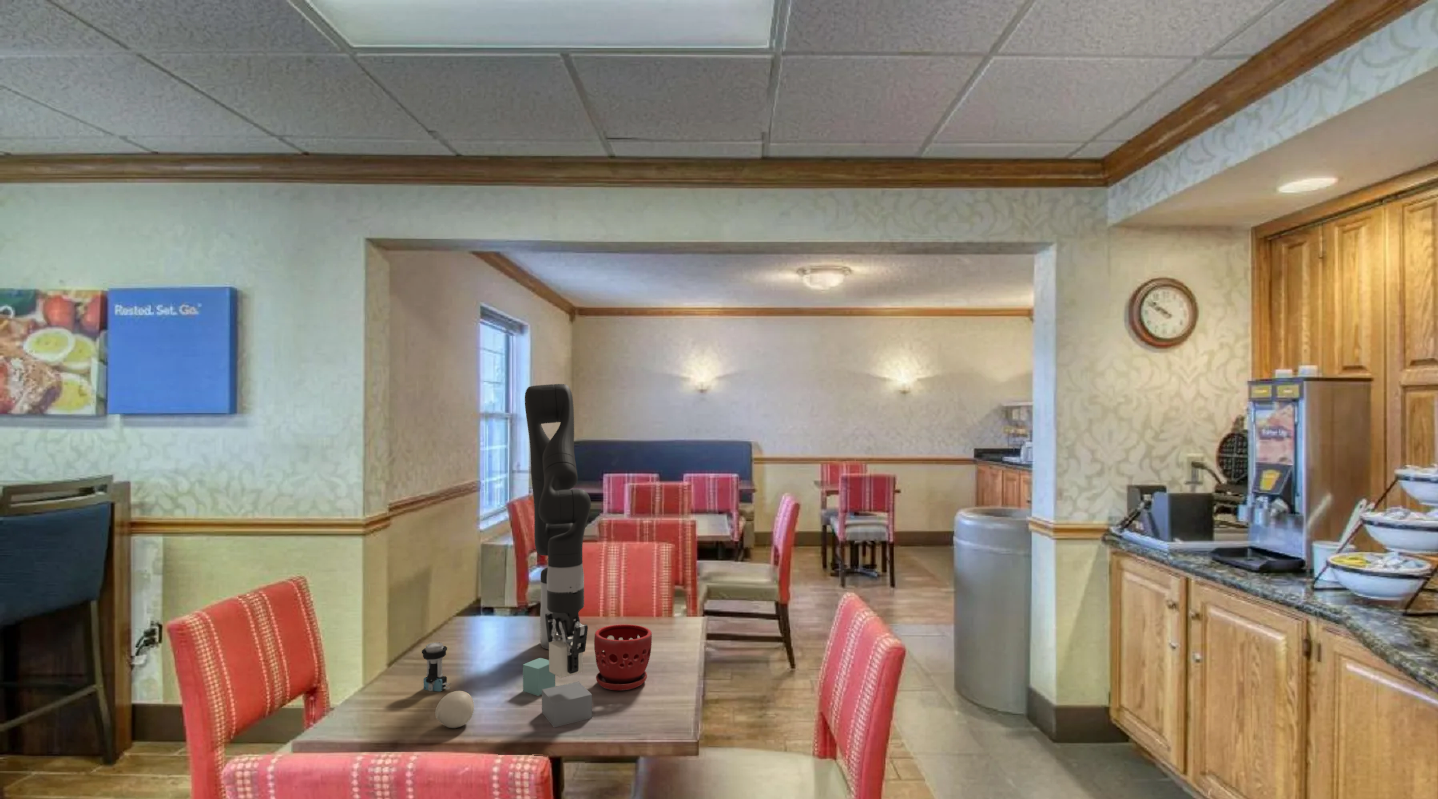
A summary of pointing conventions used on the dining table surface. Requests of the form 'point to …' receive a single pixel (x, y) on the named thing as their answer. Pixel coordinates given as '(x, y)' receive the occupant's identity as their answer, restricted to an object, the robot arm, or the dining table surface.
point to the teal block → (537, 676)
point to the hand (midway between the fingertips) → (566, 668)
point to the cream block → (561, 659)
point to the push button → (435, 667)
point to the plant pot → (622, 656)
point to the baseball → (455, 709)
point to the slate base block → (566, 704)
